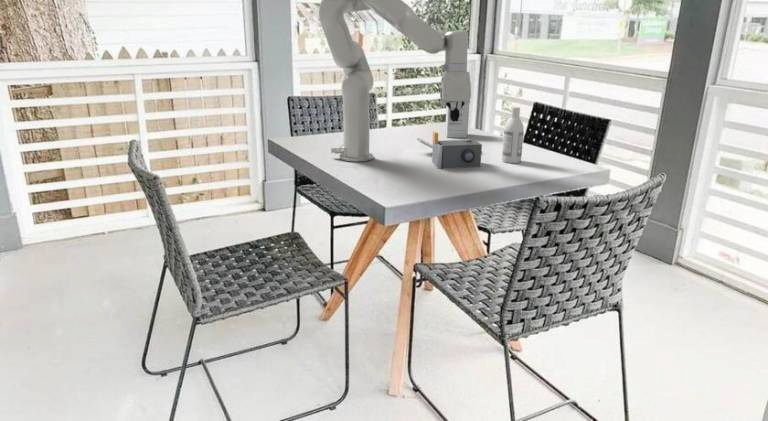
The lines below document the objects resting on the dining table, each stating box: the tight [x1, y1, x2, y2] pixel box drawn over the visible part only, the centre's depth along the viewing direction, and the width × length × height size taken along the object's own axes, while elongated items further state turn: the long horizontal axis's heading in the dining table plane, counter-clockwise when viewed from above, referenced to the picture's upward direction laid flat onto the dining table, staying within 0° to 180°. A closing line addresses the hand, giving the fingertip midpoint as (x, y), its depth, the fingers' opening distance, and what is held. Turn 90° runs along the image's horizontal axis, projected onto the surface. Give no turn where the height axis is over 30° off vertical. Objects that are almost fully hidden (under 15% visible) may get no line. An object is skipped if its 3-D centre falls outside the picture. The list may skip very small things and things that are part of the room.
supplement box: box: [444, 102, 470, 139], centre depth 258 cm, size 10×9×17 cm
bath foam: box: [501, 106, 525, 164], centre depth 215 cm, size 7×7×20 cm
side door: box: [431, 131, 442, 170], centre depth 210 cm, size 1×9×11 cm, turn 10°
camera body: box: [438, 138, 483, 169], centre depth 211 cm, size 14×10×9 cm
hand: (454, 120), depth 210 cm, fingers closed
